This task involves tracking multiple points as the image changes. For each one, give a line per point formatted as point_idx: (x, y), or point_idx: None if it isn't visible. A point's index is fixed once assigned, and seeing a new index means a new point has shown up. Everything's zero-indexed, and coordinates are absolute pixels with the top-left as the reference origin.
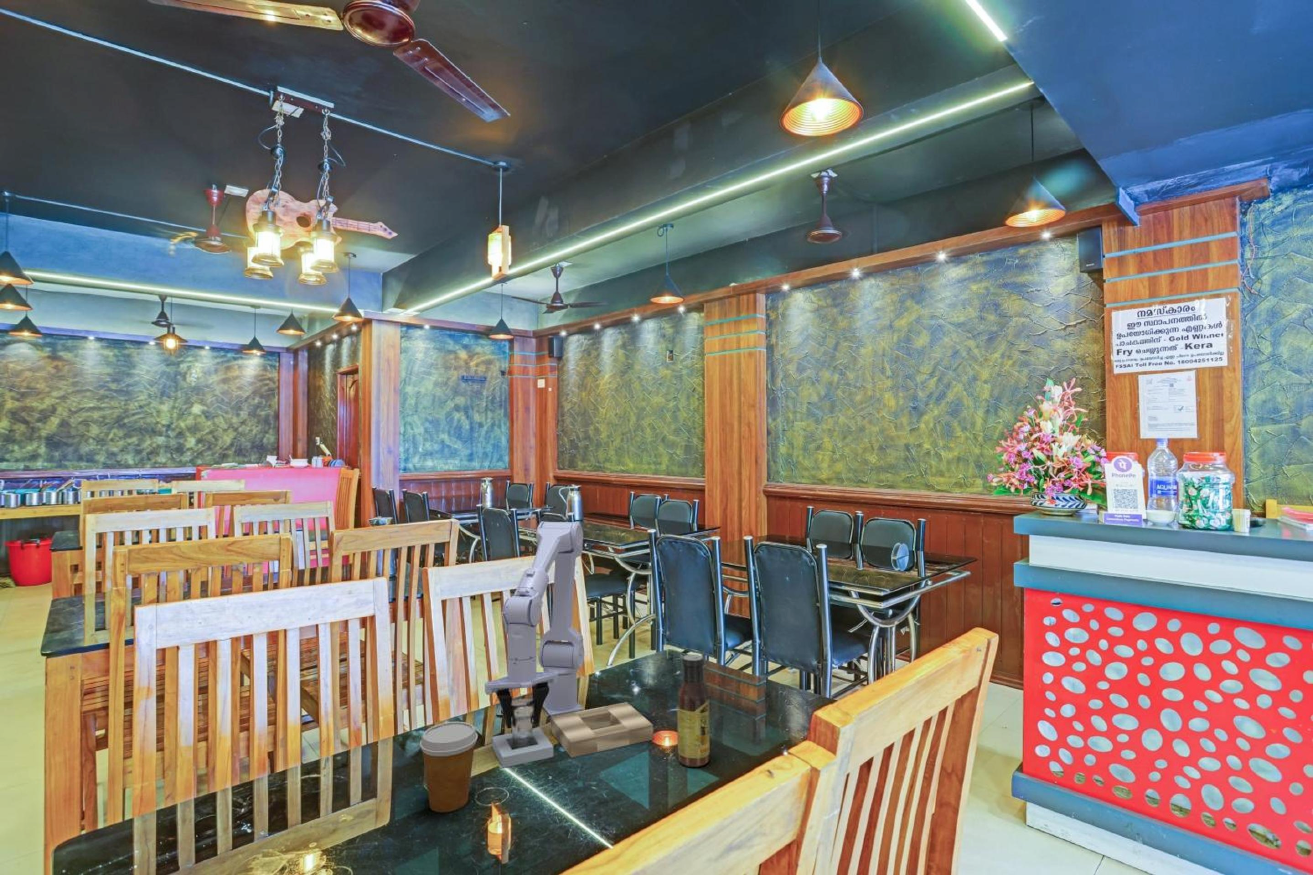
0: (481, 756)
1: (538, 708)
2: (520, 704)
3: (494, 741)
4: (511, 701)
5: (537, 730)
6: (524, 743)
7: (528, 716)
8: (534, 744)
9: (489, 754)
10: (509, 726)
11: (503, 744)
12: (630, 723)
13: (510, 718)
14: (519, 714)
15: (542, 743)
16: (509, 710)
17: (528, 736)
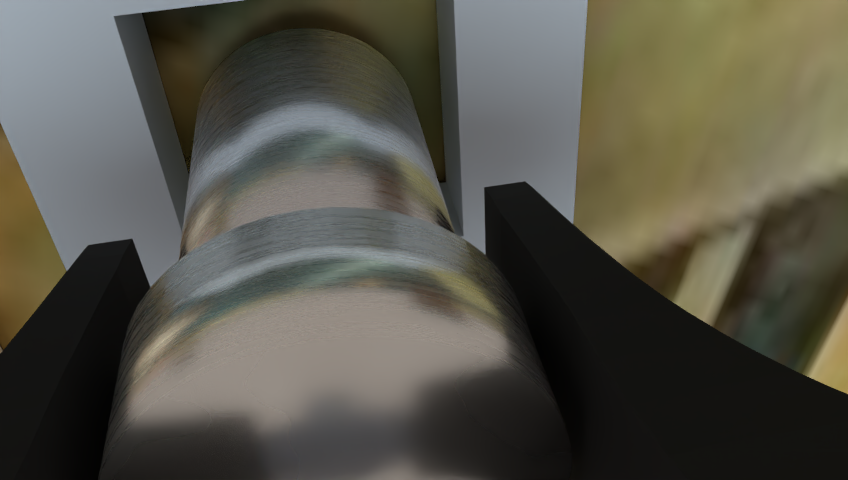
0: (667, 110)
1: (30, 381)
2: (381, 478)
3: (571, 216)
4: (677, 454)
5: None
6: (295, 50)
7: (240, 234)
8: (174, 150)
9: (597, 126)
10: (519, 190)
11: (509, 133)
12: None
13: (545, 247)
14: (414, 261)
15: (65, 21)
16: (619, 327)
17: (243, 97)
